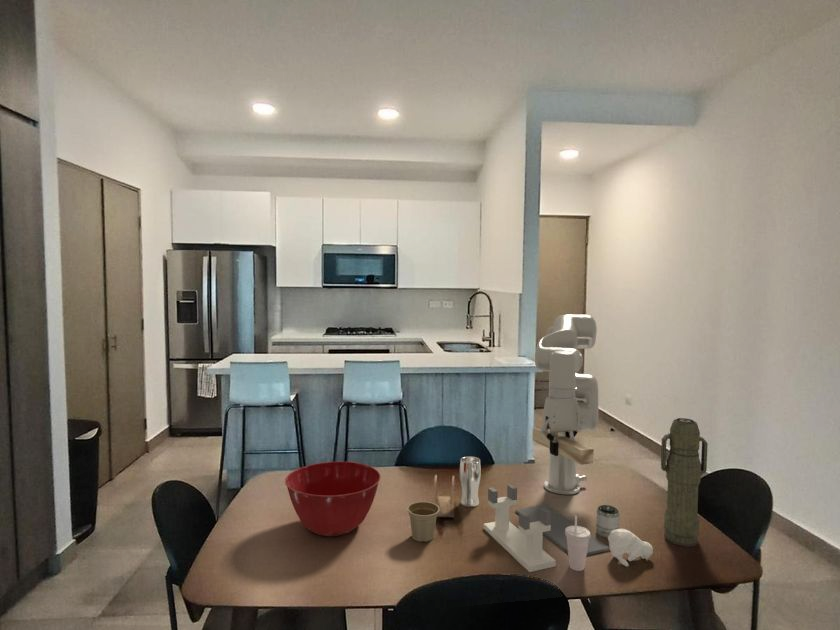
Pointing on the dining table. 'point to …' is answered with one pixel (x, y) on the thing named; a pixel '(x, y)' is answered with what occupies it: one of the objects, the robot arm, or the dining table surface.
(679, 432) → the thermos
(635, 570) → the dining table surface
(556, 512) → the mat
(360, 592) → the dining table surface
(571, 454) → the rail
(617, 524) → the camera lens
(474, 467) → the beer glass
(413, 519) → the flower pot
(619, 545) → the white animal figurine
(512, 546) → the hook stand
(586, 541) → the smoothie
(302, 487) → the mixing bowl
